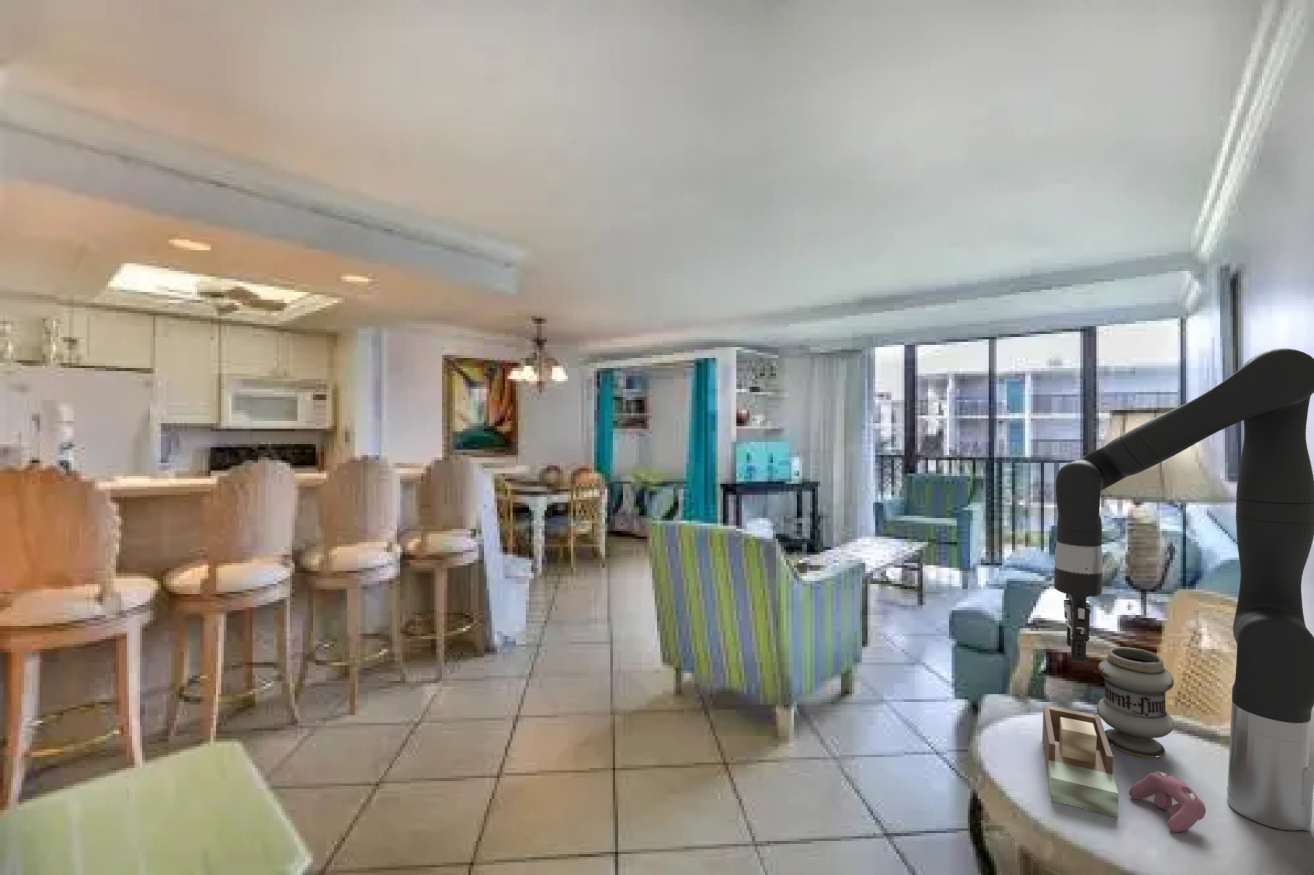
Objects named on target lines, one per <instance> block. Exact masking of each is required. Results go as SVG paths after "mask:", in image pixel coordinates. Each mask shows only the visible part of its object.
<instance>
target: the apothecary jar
mask: <svg viewBox="0 0 1314 875" xmlns="http://www.w3.org/2000/svg"><path fill="white" fill-rule="evenodd" d="M1097 666H1098V672H1099V674H1100V676H1101V677H1102V678H1103V679H1104V697H1102V698H1101V699H1100V700H1099V701H1098V702H1097V705H1096V711H1097V714H1098V715H1099V716H1100V719H1101V720H1103V722H1104V723H1106V725H1108V726H1110V728H1109V729H1106V730H1104V731H1105V734H1106V737H1107V740H1108V743H1109V745H1112V747H1114V748H1115V749H1117V750H1119V751H1121V752H1123V753H1127V754H1130V755H1133V756H1137V757H1141V758H1142V757H1143V758H1149V757H1155V758H1157V757H1156V756H1160V757H1162V755H1163V756H1164V755H1165V754H1166V749H1165V747H1164V746H1163V744H1161V743H1160V742H1159V741H1157V740H1156V739H1158V738H1163V737H1166V736H1168V735H1169V734H1170V733H1172V731H1173V730H1174V727H1175V724H1174V720H1173V718H1172V716H1171V715H1170V713H1169V712H1168V711H1167V710H1166V707H1167V706H1166V692H1168V691H1170V690H1171V689H1173V687H1174V684H1175V680H1174V677H1173V674H1171V672H1170V671H1168V670H1167V669H1166V668H1165V665H1164V660H1163V658H1162V657H1161V656H1160V655H1158V654H1156V653H1155V652H1152V651H1148V650H1144V649H1141V648H1134V647H1125V646H1117V647H1112V648H1110V649H1109V651H1108V654H1107V657H1105V658H1103V659H1102V660H1101V661H1100V662H1099V663H1098V665H1097ZM1164 753H1165V754H1164Z"/></svg>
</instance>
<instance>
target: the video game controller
mask: <svg viewBox="0 0 1314 875" xmlns="http://www.w3.org/2000/svg"><path fill="white" fill-rule="evenodd" d="M1128 794H1129V797H1130V798H1131V799H1132V800H1143V799H1146V798H1148V797H1151V796H1154V798H1153V802H1154V805H1156V806H1157V807H1158V808H1160V809H1162V810H1163V811H1168V813H1169V815H1170V818H1169V820H1168V822H1167V828H1168V830H1170V832H1173V833H1179V832H1180V833H1181V832H1184V831H1186V830H1188V829H1191V827H1193V826H1194V825H1195V824H1196V823H1197V822H1198V821H1200V820H1202V819H1203V818H1204V817H1205V816H1206V812H1207V808H1206V806H1205V803H1204V802H1203V801H1202V800H1201V799H1200V798H1199V797H1198V795H1197V794H1196V792H1195V791H1194V790H1193V789H1192V788H1191V787H1190V786H1189V785H1188V784H1187V783H1185V782H1184V781H1183V780H1181V779H1179V778H1176V777H1174V776H1172V775H1170V774H1168V773H1165V772H1160V771H1158V770H1156V771H1155V772H1151V773H1148V775H1146V776H1144V777H1143V778H1142V779H1141V780H1139V781H1137V782H1135V783H1134V784H1133V785H1132V786H1131V787H1130V788H1129V793H1128ZM1173 800H1174V801H1175V802H1176V803H1175V804H1173Z"/></svg>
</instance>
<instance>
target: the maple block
mask: <svg viewBox="0 0 1314 875" xmlns="http://www.w3.org/2000/svg"><path fill="white" fill-rule="evenodd" d="M1096 740H1097V735H1096V732H1095V729H1094V725H1093V723H1089V722H1084V721H1079V720H1074V719H1069V718H1064V717H1060V738H1059V744H1060V750H1061V755H1062V757H1067V758H1071V759H1076V760H1080V761H1085V762H1089V763H1094V764H1096Z"/></svg>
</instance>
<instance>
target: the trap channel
mask: <svg viewBox="0 0 1314 875" xmlns="http://www.w3.org/2000/svg"><path fill="white" fill-rule="evenodd" d="M1042 710H1043V711H1042V713H1043V714H1042V738H1041V741H1042V747H1043V754H1044V761H1045V762H1044V763H1045V769H1046V776H1047V785H1048V791H1049V792H1048V793H1049V798H1050V799H1049V800H1050V802H1054V803H1058V804H1062V803H1063V804H1062V805H1066V804H1068V805H1067V806H1070V805H1071V807H1074V806H1075V808H1078V807H1080V808H1079V809H1082V808H1083V809H1082V810H1086V811H1090V812H1094V813H1098V812H1099V813H1098V814H1102V815H1106V816H1110V817H1114V818H1119V816H1118V814H1119V791H1118V787H1117V785H1116V781H1115V778H1114V774H1113V771H1114V755H1113V753H1112V749H1111V747H1110V743H1108V740H1107V737H1106V734H1105V731H1106V730H1105V727H1104V725H1103V722H1102V718H1101V717H1100V716H1099V714H1098V715H1097V714H1093V713H1087V712H1083V711H1078V710H1072V709H1066V708H1061V707H1057V706H1051V705H1046V704H1043V707H1042ZM1060 717H1064V718H1069V719H1074V720H1079V721H1084V722H1089V723H1093V725H1094V729H1095V732H1096V735H1097V740H1096V764H1094V763H1089V762H1085V761H1080V760H1076V759H1071V758H1067V757H1062V755H1061V750H1060V744H1059V738H1060Z"/></svg>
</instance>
